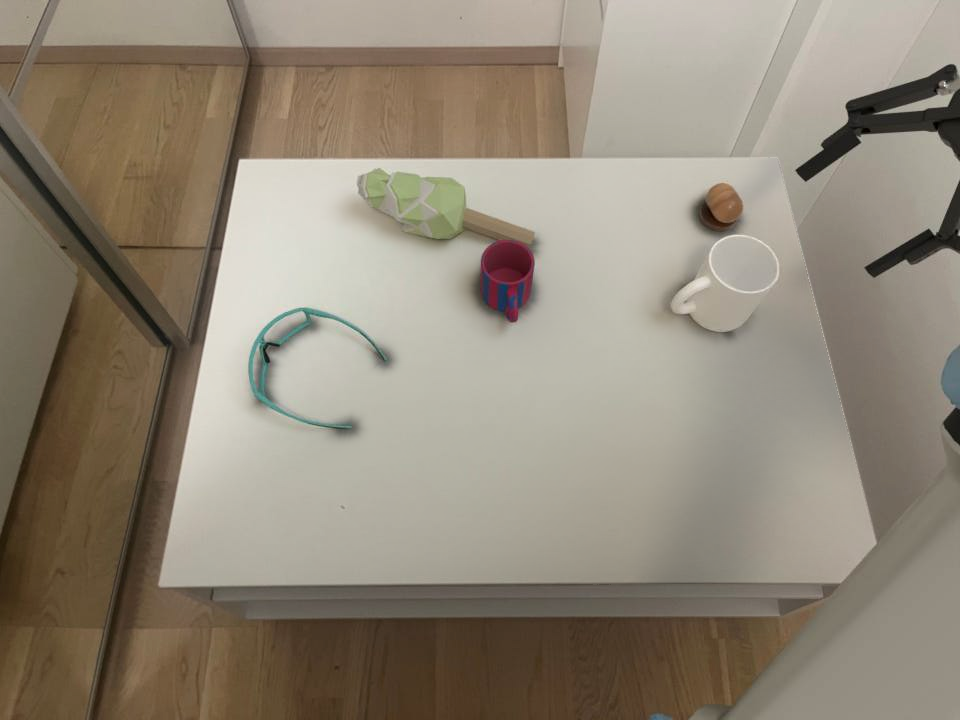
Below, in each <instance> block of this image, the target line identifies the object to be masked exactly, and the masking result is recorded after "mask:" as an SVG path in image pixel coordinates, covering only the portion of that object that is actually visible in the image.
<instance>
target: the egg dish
mask: <svg viewBox="0 0 960 720" xmlns="http://www.w3.org/2000/svg"><path fill="white" fill-rule="evenodd" d="M743 210H744V204H743V200H742V198H741V197H740V195H739V193H738V192H737V191H736V189H735V187H734V186H732V185H731V184H730V183H727V182H726V183H725V182H721V183H716V184H714V185H712V186H711V187H710V188H709V190H708V191H707V193H706V196H705V201H704V202H703V203H702V204H701V206H700V208H699V211H698V217H699V221H700V222H701V223H702V225H703V226H704V227H706V228H707V229H709V230H711V231H714V232H726V231H729V230H731V229H732V228H733V227H734V226H735V224H736V223H737V221H738V219H739V218H740V217H741V215H742V214H743Z"/></svg>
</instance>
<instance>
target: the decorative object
mask: <svg viewBox="0 0 960 720" xmlns="http://www.w3.org/2000/svg"><path fill="white" fill-rule="evenodd" d="M356 186H357V188H358V192H357V194H358V195H359V196H361V197H362V198H363V200H364V201H365V203H367V204H368V205H369V206H370V207H371V208H372V209H373V208H375V209H376V210H377V211H380V212H382V213H384V214H387V215H388V216H391V217H393V218H394V219H395V221H396V222H398V223H401V224H403V226H402V228H401V231H402V232H405V233H410V234H413V235H418V236H422V237H425V238H426V237H427V238H431V239H435V240H447V239H449V240H451V239H452V238H454V237H455V236H457V235H459V234H461V233H462V232H465V229H466V230H467V229H468V230H470V231H473V232H476V233H479V234H481V235H484V236H487V237H490V238H493V239H496V240H497V241H500V240H514V241H518V242H520V243H522V244H524V245H525V246H527V247H528V248H529V249H531V245H532V243H533V241H534V238H535V234H536V232H535V231H534V230H530V229H527V228H525V227H521V226H520V225H516V224H513V223H511V222H507V221H505V220H502V219H499V218H497V217H494V216H491V215H488V214H486V213H482V212H479V211H476V210H473V209H471V208H468V207H467V195H466V187H465V186H464V185H462V184H461V183H460V182H459V181H457V180H456V179H454V177H442V176H424V177H421V176H420V175H419V174H416V173H410V172H403V171H396V172H395V171H394V172H392V173H391V174H389V173H387V172H386V171H385V170H383V169H382V168H380V167H378V168H374V169H373V170H371V171H368V172H366V173H363V174H360V175H357V178H356Z"/></svg>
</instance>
